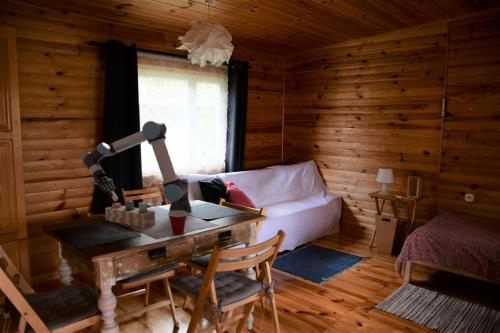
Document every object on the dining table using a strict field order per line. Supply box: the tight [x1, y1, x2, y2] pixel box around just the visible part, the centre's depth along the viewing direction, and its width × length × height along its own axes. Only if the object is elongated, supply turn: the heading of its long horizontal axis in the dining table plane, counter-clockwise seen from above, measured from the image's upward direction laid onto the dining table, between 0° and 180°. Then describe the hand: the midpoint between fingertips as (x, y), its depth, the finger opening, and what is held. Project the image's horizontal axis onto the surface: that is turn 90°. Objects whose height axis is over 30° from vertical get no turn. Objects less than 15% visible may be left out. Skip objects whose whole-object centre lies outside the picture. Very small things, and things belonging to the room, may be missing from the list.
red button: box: [111, 202, 122, 209], centre depth 237 cm, size 5×5×5 cm
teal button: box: [138, 201, 149, 212], centre depth 225 cm, size 5×5×5 cm
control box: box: [105, 205, 156, 228], centre depth 232 cm, size 33×10×8 cm, turn 59°
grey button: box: [124, 200, 135, 210], centre depth 231 cm, size 5×5×5 cm
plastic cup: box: [167, 211, 189, 236], centre depth 206 cm, size 11×11×12 cm
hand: (116, 199), depth 237 cm, fingers closed
